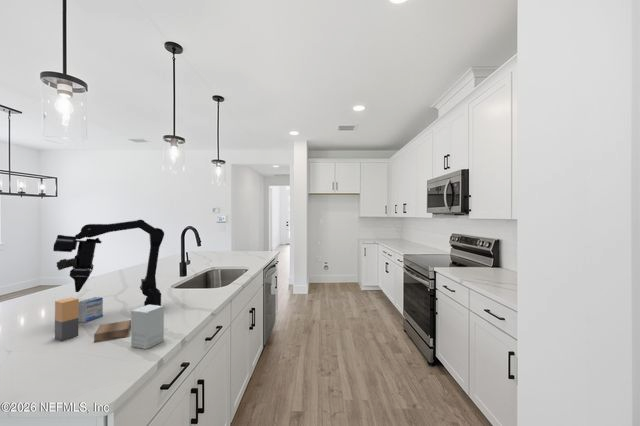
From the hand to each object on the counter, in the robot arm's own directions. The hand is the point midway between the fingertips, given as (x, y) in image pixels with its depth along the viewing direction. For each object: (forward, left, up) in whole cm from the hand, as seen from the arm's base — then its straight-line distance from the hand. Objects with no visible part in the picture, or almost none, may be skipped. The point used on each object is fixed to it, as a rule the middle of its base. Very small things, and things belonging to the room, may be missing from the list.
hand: (78, 289), depth 119 cm
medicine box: (-3, -3, -14) cm, 15 cm away
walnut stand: (-15, +22, -14) cm, 30 cm away
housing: (0, +17, -14) cm, 22 cm away
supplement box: (-27, +37, -14) cm, 48 cm away
